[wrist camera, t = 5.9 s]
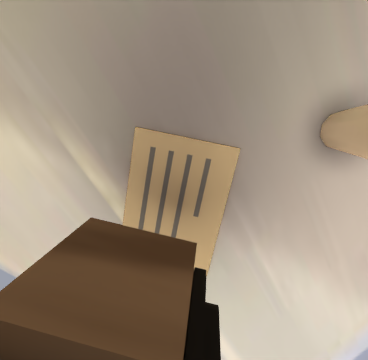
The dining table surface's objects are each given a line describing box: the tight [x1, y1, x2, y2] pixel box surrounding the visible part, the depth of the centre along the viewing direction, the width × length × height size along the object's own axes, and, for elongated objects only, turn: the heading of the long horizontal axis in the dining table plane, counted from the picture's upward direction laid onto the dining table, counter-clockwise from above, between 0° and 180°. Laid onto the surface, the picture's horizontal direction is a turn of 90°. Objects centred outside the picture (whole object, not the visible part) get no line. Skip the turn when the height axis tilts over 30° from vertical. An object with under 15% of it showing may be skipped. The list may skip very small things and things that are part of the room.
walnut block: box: [0, 218, 197, 360], centre depth 8 cm, size 5×5×5 cm
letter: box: [123, 127, 240, 276], centre depth 21 cm, size 14×10×1 cm
